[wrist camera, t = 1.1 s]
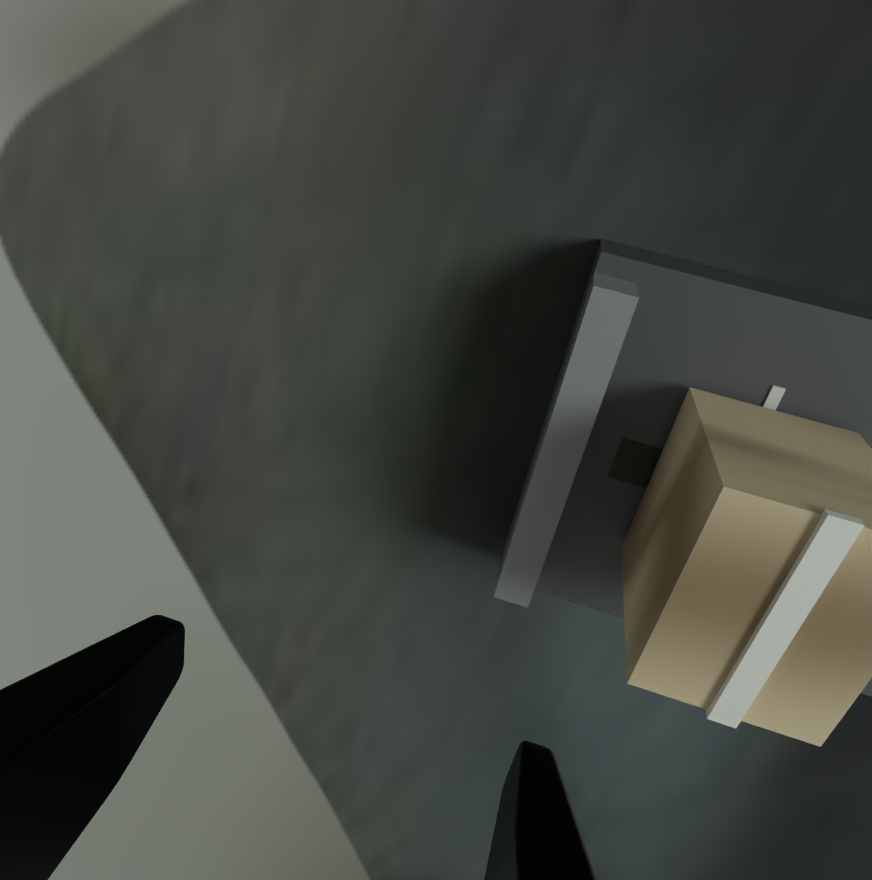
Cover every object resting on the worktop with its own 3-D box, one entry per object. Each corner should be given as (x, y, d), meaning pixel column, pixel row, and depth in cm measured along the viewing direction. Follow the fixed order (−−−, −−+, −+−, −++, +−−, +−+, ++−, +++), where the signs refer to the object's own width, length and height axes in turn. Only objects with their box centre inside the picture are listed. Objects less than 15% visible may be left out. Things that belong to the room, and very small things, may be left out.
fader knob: (764, 595, 18) (820, 756, 13) (619, 551, 18) (626, 692, 14) (860, 429, 15) (970, 555, 11) (691, 383, 16) (727, 485, 11)
